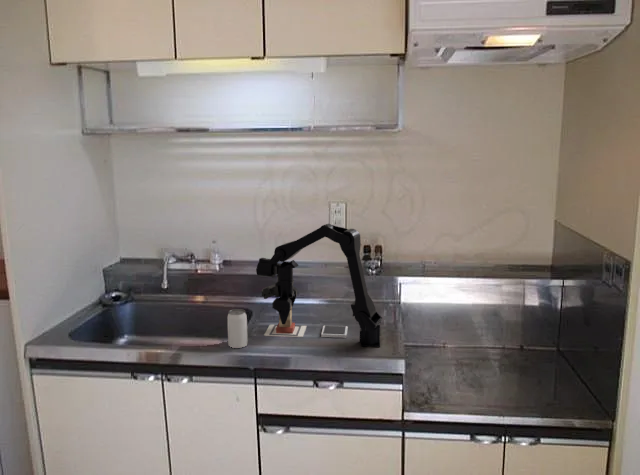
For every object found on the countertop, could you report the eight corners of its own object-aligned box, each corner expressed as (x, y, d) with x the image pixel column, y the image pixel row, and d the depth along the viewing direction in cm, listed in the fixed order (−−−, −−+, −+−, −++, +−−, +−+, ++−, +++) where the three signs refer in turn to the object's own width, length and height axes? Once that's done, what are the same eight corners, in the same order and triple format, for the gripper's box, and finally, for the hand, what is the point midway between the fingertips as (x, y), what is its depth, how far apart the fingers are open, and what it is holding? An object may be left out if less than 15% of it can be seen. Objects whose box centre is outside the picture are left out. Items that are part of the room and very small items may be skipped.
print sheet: (306, 326, 193) (306, 325, 193) (302, 337, 183) (302, 335, 182) (269, 325, 195) (269, 324, 195) (263, 335, 184) (263, 334, 184)
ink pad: (347, 328, 191) (347, 325, 191) (346, 337, 182) (346, 334, 182) (323, 328, 192) (323, 324, 191) (321, 336, 183) (321, 333, 183)
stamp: (295, 327, 191) (294, 304, 190) (292, 333, 185) (292, 309, 184) (279, 327, 192) (278, 303, 190) (276, 333, 186) (275, 308, 184)
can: (249, 342, 178) (248, 309, 176) (245, 349, 172) (244, 315, 170) (231, 341, 179) (230, 308, 177) (226, 348, 172) (224, 314, 170)
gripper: (268, 271, 195) (269, 311, 198) (257, 285, 177) (258, 328, 180) (297, 272, 194) (297, 312, 197) (289, 285, 176) (290, 329, 178)
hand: (285, 319), depth 188 cm, fingers open, 9 cm apart
